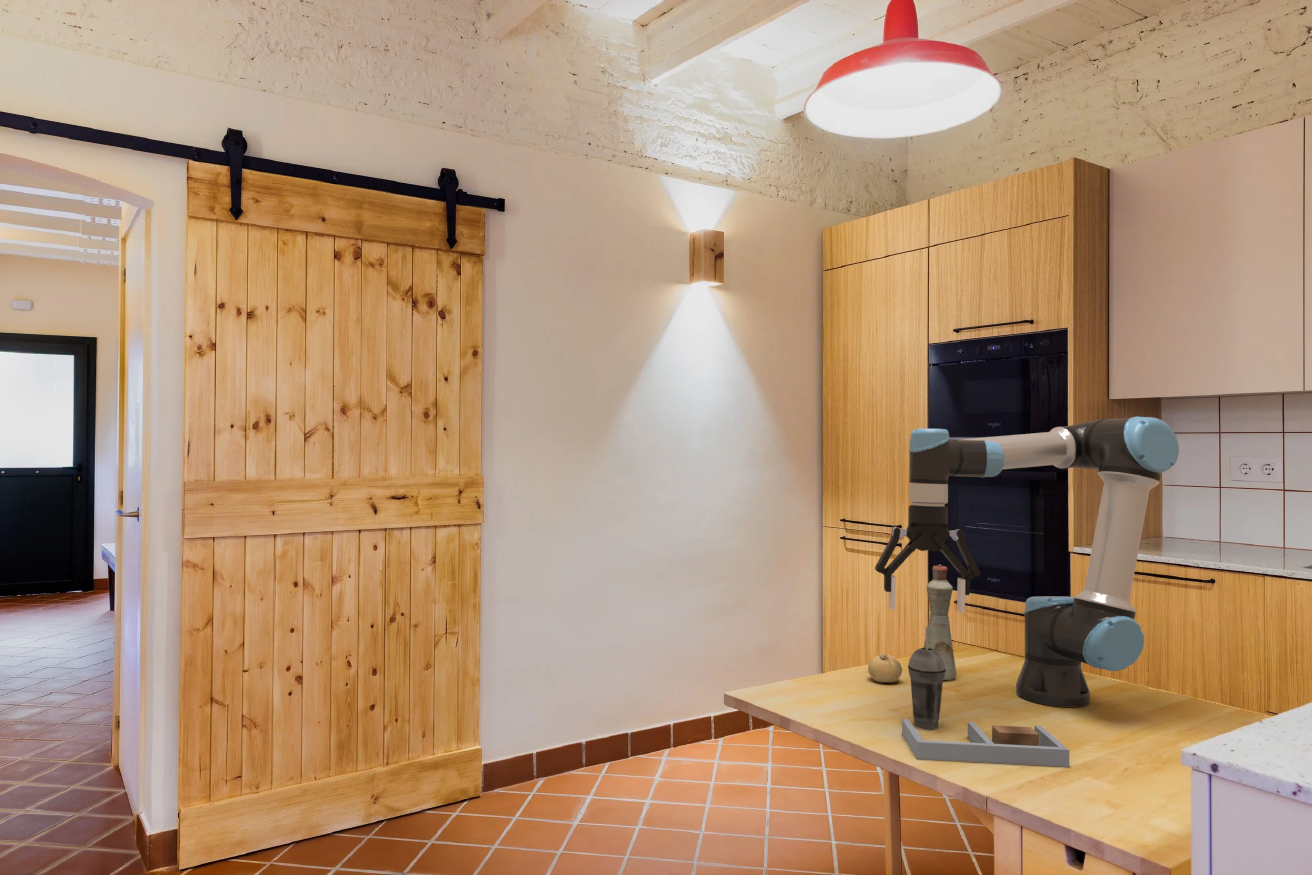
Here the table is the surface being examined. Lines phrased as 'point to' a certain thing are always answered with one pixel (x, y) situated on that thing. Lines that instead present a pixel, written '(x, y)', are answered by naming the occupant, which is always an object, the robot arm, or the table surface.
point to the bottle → (940, 619)
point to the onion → (884, 668)
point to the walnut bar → (1014, 735)
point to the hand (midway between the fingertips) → (926, 609)
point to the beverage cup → (926, 686)
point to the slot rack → (988, 748)
